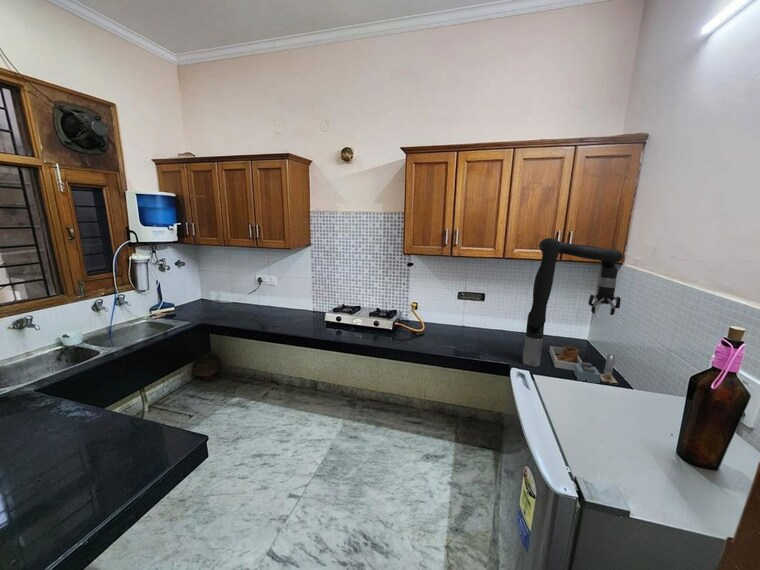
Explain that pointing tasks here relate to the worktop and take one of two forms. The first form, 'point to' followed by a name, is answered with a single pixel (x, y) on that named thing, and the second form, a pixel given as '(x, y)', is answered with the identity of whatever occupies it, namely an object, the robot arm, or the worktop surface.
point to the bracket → (568, 355)
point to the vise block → (587, 373)
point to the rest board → (607, 379)
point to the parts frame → (561, 363)
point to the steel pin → (609, 366)
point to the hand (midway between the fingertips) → (602, 314)
